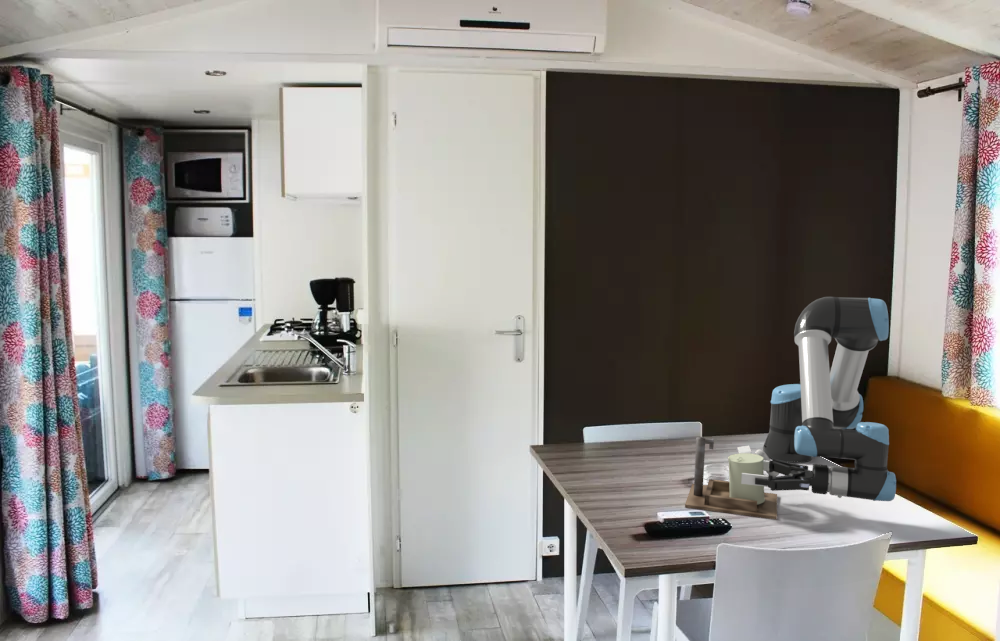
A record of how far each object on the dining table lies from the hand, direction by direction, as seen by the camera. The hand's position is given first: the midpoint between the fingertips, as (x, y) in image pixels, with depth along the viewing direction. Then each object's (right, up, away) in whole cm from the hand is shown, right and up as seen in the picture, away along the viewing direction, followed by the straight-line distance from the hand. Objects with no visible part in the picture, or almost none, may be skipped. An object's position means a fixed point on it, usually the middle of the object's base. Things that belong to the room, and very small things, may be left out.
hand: (742, 470), depth 208 cm
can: (+1, -8, +1) cm, 8 cm away
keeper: (-2, -9, +2) cm, 9 cm away
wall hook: (+12, -7, +24) cm, 28 cm away
